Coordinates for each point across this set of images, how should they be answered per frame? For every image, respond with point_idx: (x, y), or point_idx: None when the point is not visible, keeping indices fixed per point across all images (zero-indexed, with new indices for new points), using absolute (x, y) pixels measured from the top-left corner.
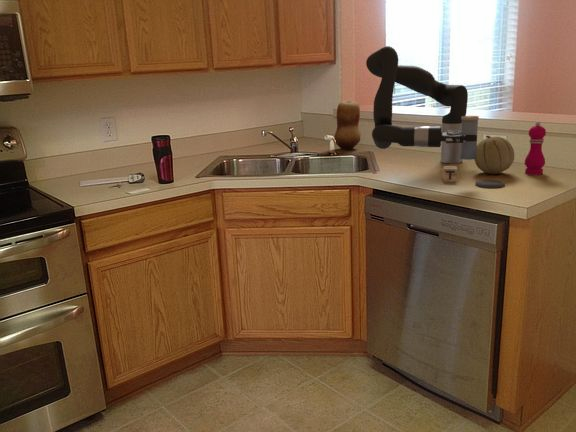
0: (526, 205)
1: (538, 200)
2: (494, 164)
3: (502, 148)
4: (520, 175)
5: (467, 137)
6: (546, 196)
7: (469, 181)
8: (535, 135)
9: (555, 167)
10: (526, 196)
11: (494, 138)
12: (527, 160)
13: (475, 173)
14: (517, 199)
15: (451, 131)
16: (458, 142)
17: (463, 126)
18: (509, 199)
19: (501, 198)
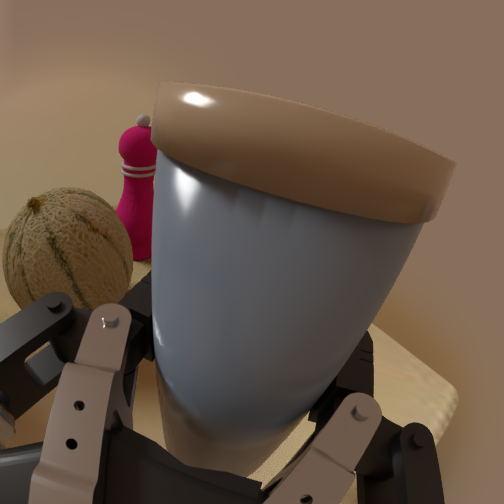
0: (445, 384)
1: (405, 353)
2: (117, 302)
3: (119, 233)
4: (139, 275)
5: (367, 394)
6: (370, 328)
7: (145, 436)
8: (154, 154)
9: (115, 207)
10: (376, 363)
11: (71, 203)
12: (136, 228)
13: (44, 345)
14: (405, 388)
15: (96, 498)
16: (393, 496)
17: (352, 330)
18: (408, 405)
19: (402, 420)
